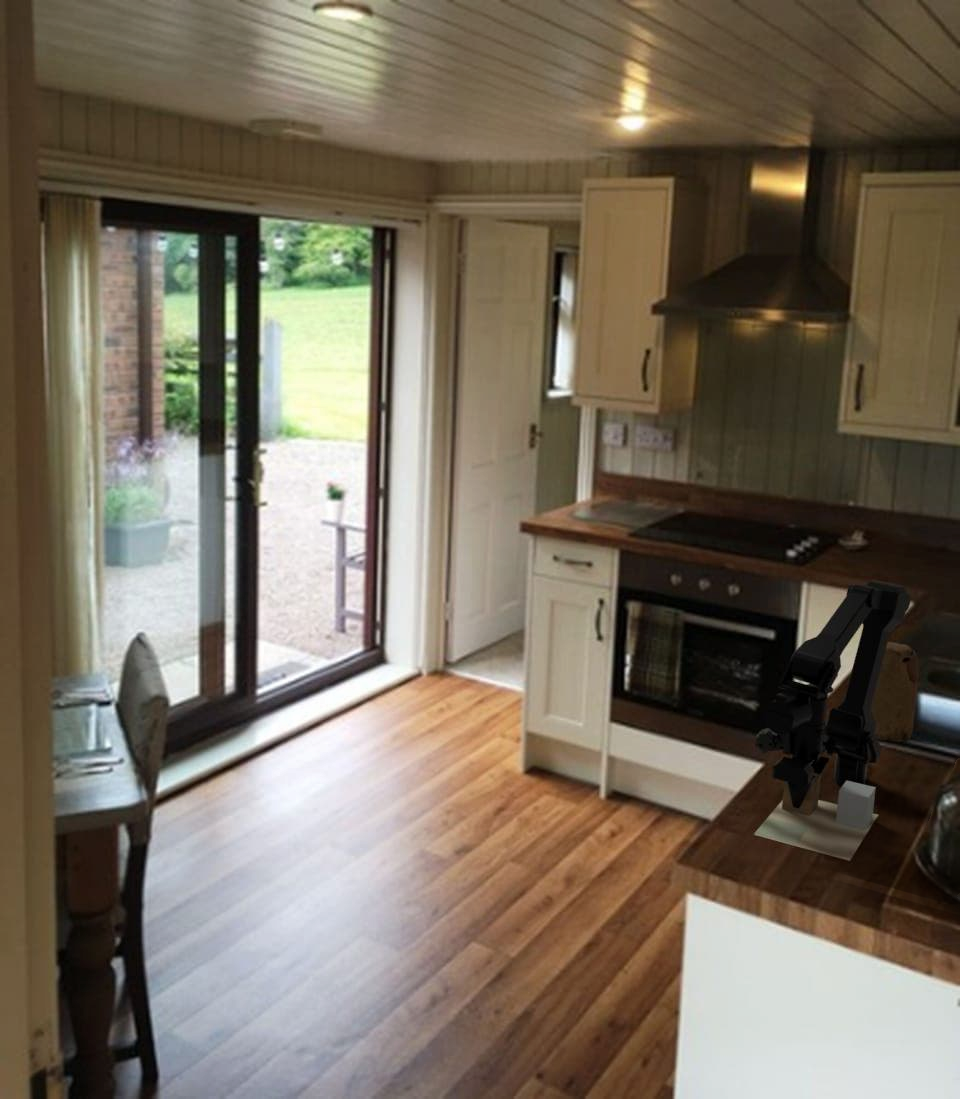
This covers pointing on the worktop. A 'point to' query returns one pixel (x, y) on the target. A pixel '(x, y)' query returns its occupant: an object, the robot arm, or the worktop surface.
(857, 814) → the grey block
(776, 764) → the robot arm
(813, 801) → the walnut block
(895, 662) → the block
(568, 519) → the worktop surface
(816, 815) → the board
